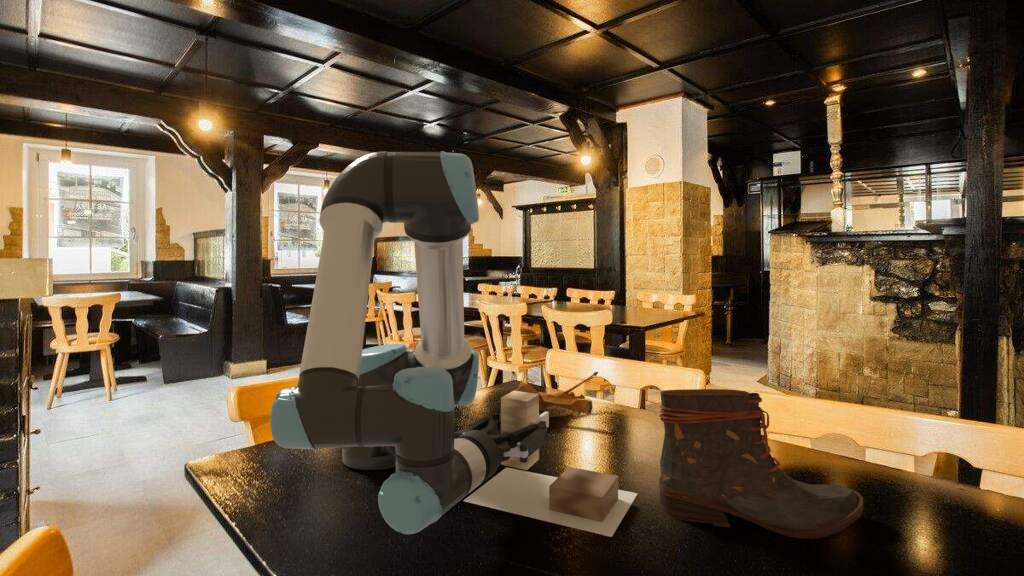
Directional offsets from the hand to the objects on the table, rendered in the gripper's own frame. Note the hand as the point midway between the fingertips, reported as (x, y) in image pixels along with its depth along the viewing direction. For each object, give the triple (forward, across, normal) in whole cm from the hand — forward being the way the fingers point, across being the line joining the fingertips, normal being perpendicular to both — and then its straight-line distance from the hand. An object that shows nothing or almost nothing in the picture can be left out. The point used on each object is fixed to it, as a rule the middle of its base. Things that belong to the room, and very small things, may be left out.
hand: (532, 416), depth 97 cm
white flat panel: (-5, +6, -12) cm, 14 cm away
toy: (+42, -12, -14) cm, 45 cm away
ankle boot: (+4, +38, -12) cm, 40 cm away
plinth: (-5, +12, -12) cm, 18 cm away
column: (-5, 0, -7) cm, 9 cm away
